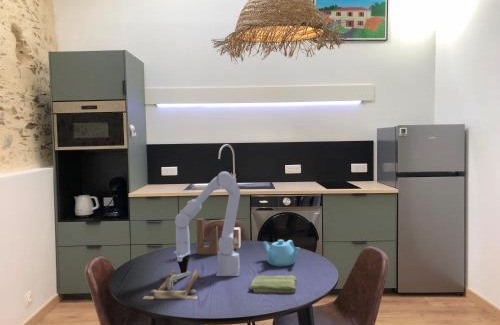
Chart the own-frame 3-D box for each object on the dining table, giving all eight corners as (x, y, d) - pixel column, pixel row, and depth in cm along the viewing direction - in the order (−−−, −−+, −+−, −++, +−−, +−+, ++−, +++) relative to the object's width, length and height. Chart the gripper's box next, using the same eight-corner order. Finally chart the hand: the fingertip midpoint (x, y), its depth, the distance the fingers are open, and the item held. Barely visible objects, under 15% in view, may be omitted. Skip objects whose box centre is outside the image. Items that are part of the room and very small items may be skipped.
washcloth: (253, 280, 156) (253, 273, 156) (296, 282, 154) (296, 274, 153) (249, 293, 143) (248, 285, 143) (296, 295, 141) (296, 286, 140)
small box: (224, 248, 202) (223, 229, 202) (226, 245, 208) (226, 226, 207) (239, 249, 201) (238, 229, 200) (241, 246, 206) (240, 227, 206)
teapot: (300, 267, 170) (300, 243, 170) (267, 269, 169) (267, 245, 168) (293, 257, 185) (293, 235, 185) (263, 258, 184) (262, 236, 184)
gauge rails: (208, 273, 165) (208, 267, 165) (196, 299, 138) (196, 292, 138) (162, 273, 166) (162, 268, 166) (142, 299, 139) (142, 292, 139)
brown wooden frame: (217, 254, 192) (216, 219, 191) (196, 254, 193) (195, 219, 192) (218, 252, 195) (217, 218, 194) (198, 252, 196) (197, 218, 195)
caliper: (169, 291, 146) (169, 275, 146) (167, 291, 147) (166, 275, 146) (190, 273, 166) (190, 259, 166) (188, 273, 166) (188, 259, 166)
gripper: (177, 237, 169) (178, 267, 170) (169, 246, 154) (170, 278, 155) (193, 237, 169) (194, 267, 169) (186, 246, 154) (187, 278, 155)
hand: (183, 272), depth 162 cm, fingers closed
